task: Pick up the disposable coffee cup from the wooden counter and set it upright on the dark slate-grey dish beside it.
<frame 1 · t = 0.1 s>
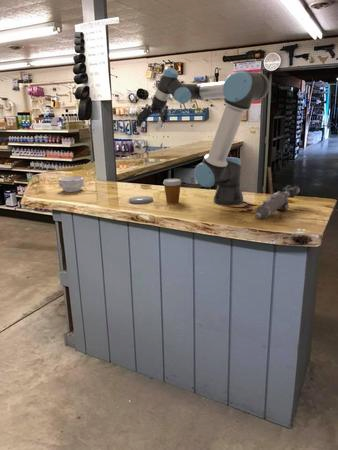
hand: (147, 130, 207), 36 cm above the table, tool tilted 35°, fingers open, 13 cm apart
disposable coffee cup: (172, 202, 194), on the table
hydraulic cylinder: (275, 212, 171), on the table
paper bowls: (72, 191, 232), on the table
slate dish: (141, 201, 200), on the table
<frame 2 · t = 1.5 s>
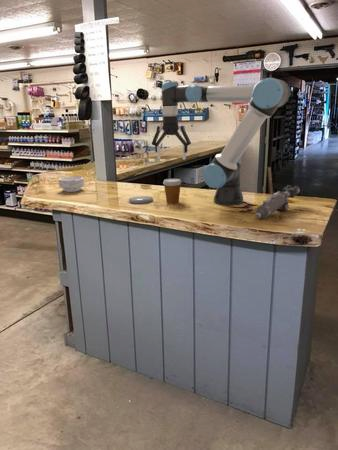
hand: (171, 159, 188), 23 cm above the table, tool pointing down, fingers open, 13 cm apart
nothing on the table moved.
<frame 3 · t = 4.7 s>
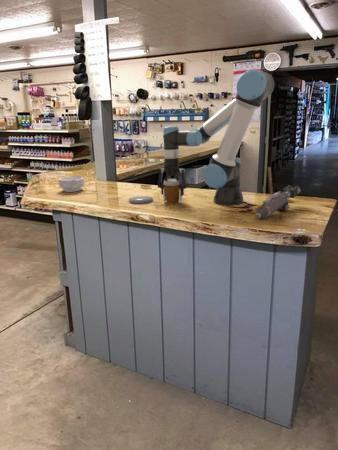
hand: (172, 201, 194), 1 cm above the table, tool pointing down, fingers closed on disposable coffee cup, 8 cm apart
disposable coffee cup: (172, 202, 194), on the table, touching gripper
everything else where it was.
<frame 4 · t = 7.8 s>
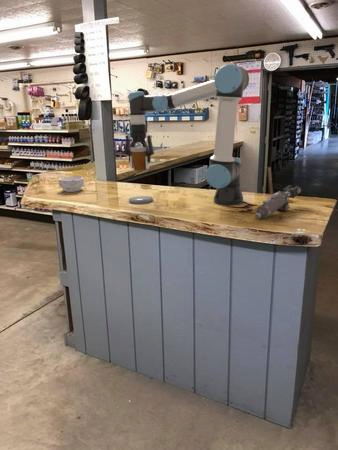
hand: (140, 168, 194), 18 cm above the table, tool pointing down, fingers closed on disposable coffee cup, 8 cm apart
disposable coffee cup: (140, 170, 195), point 17 cm above the table, touching gripper
everything else where it was.
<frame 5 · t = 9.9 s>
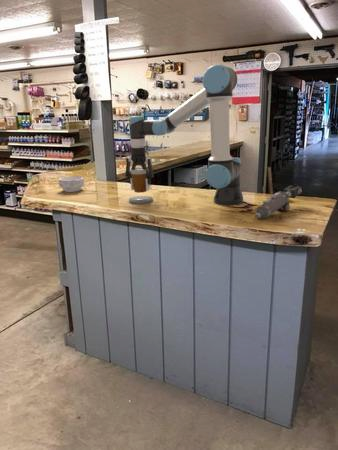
hand: (140, 190, 198), 6 cm above the table, tool pointing down, fingers closed on disposable coffee cup, 8 cm apart
disposable coffee cup: (140, 191, 198), point 5 cm above the table, touching gripper
everything else where it was.
when the fingers open (3 cm above the table, at t = 11.4 s): disposable coffee cup drops 1 cm, resting on slate dish.
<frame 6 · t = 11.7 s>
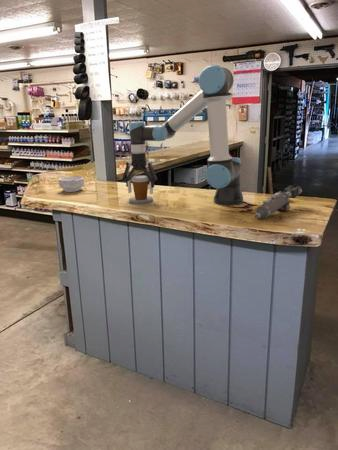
hand: (140, 193, 198), 4 cm above the table, tool pointing down, fingers open, 12 cm apart
disposable coffee cup: (141, 199, 199), point 1 cm above the table, touching slate dish
everything else where it was.
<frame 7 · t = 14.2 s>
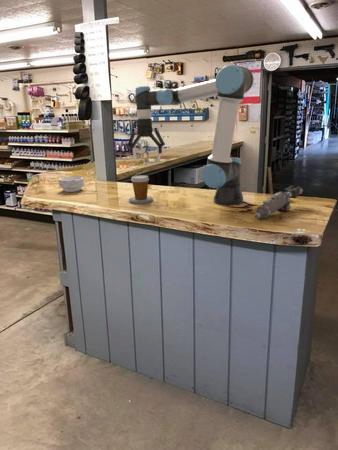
hand: (146, 159, 196), 22 cm above the table, tool pointing down, fingers open, 13 cm apart
nothing on the table moved.
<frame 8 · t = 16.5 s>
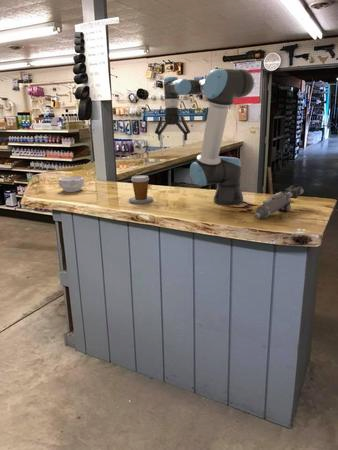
hand: (172, 146, 209), 27 cm above the table, tool pointing down, fingers open, 13 cm apart
at the end: disposable coffee cup inside the target area on the slate dish (0.1 cm from its centre), point 1.1 cm above the slate dish's base; disposable coffee cup tilted 0°; the gripper is holding nothing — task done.
